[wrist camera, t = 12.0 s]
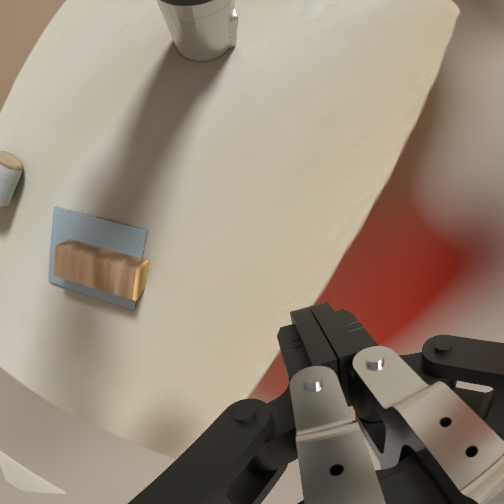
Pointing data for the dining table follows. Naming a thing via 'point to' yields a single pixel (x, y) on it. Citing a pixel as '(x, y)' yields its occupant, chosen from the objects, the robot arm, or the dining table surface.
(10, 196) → the ceramic mug
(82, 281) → the walnut block
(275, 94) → the dining table surface
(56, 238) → the slate mat
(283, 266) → the dining table surface
